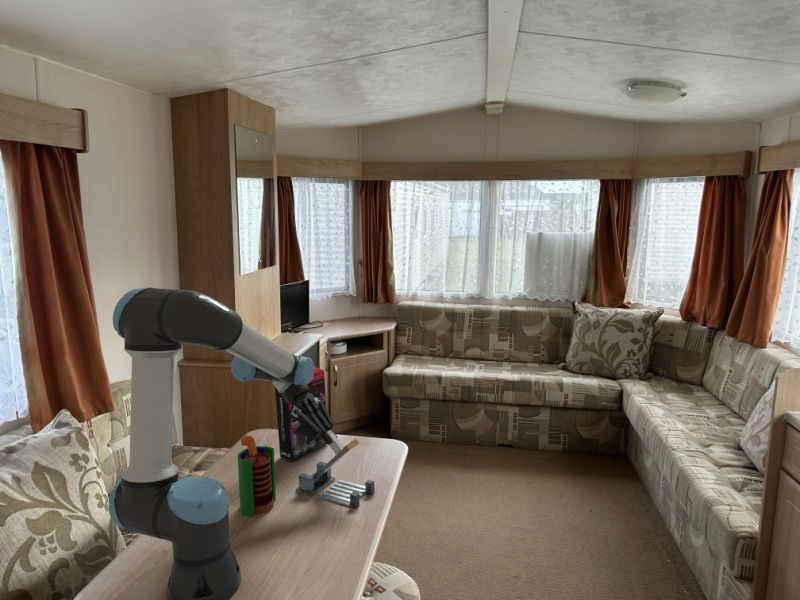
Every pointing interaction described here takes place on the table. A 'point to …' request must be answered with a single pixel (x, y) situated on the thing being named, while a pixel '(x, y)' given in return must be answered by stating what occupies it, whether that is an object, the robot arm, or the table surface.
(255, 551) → the table surface
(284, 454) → the graphics card box
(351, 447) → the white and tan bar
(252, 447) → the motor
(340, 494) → the bracket
